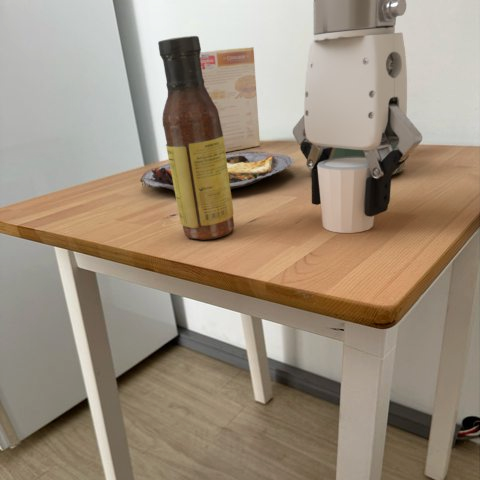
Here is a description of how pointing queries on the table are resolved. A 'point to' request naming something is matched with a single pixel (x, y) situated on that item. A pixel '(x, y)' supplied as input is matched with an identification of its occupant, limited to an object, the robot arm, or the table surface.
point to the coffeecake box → (233, 94)
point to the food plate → (230, 169)
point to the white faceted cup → (344, 194)
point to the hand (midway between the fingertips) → (348, 206)
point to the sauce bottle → (195, 143)
